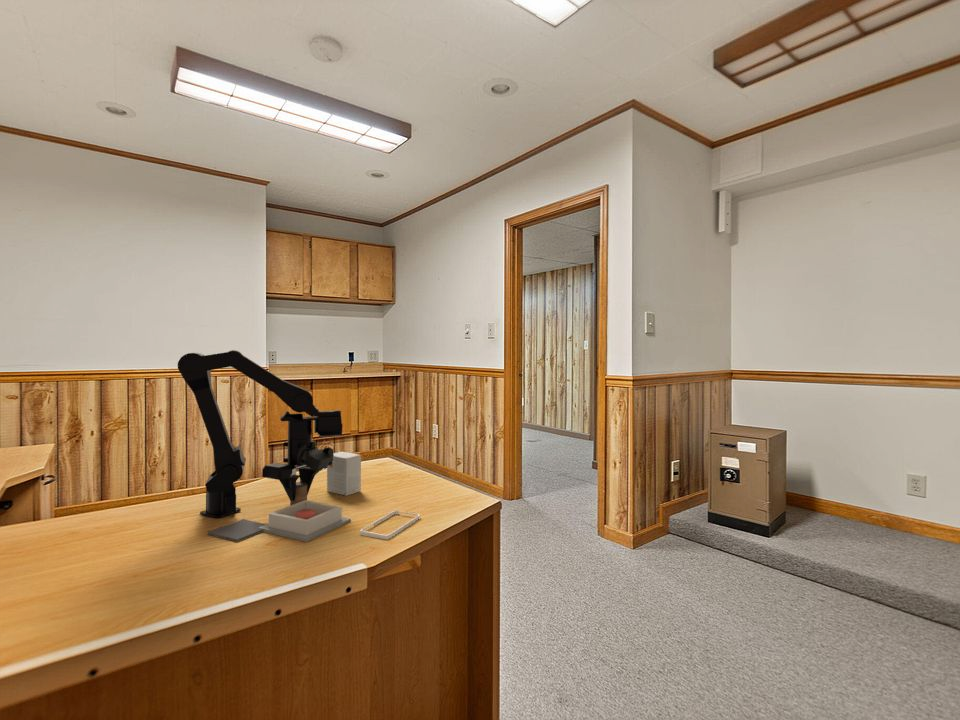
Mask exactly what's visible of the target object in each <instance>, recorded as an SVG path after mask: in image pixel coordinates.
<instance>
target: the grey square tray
mask: <svg viewBox="0 0 960 720" xmlns="http://www.w3.org/2000/svg"><path fill="white" fill-rule="evenodd" d="M305 509H312V510H316V516H314V517H312V518H309V519H307V520H306V519H302V518H297V517H296V512H297V511H300V510H305ZM350 522H351V517H345V516H342V506H338V505H332V504H328V503H322V502H316V501H313V500H308V499H307V500H304V501H302V502H299V503H296V504H293V505H291V506H290V505H288V506H286V507H283V508H280V509H278V510H274V511H273V512H270V513H268V523H265V524H266V525H264V526H261V527H258V528H260V529H263V532H262V533H268V534H271V535H276V536H281V537H285V538H289V539H293V540H298V541H302V542H306V543H308V542H310V541H312V540H314V539H316V538H318V537H320V536H322V535H325V534H327V533H329V532H331V531H333V530H335V529H337V528H339V527H341V526H343V525H345V524H348V523H350Z"/></svg>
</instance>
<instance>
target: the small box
mask: <svg viewBox="0 0 960 720" xmlns="http://www.w3.org/2000/svg"><path fill="white" fill-rule="evenodd" d="M333 454H334V456H333V461H332V465H328V467H327V468H326V491H327V492H328V493H333V494H337V495H341V496H350V495H353V494H355V493H359V492H361V491H362V455H361V454H357V453H352V452H346V451H339V452H333Z"/></svg>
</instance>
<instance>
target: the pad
mask: <svg viewBox="0 0 960 720" xmlns="http://www.w3.org/2000/svg"><path fill="white" fill-rule="evenodd" d="M266 524H267V523H262V522H257V521H254V520H249V519H245V518H243V519H239V520H236V521H233V522H231V523H229V524H226V525H223V526H220V527H216V528H215V529H212V530H209V531H207V535H209V536H213V537H215V538H220V539H225V540H229V541H232V542H236V543H238V542H240V541H244V540H246V539H248V538H250V537H253V536H255V535H258V534H260V533H264V532H263V529H260V528H258V527H261V526H264V525H266Z"/></svg>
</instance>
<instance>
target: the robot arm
mask: <svg viewBox="0 0 960 720" xmlns="http://www.w3.org/2000/svg"><path fill="white" fill-rule="evenodd" d="M229 367H230V368H233V369H234V370H236V371H238V372H240V373H241V374H242V375H244V376H246V377H248V378H249V379H250V380H253V381H254V382H256V383H258V384H259V385H261V386H262V387H264V388H266V389H267V390H268V391H271V392H272V393H274V394H275V395H276V397H278V398H279V399H280V400H281V401H282V402H284V404H286V405H287V407H289V408H290V409H291V410H292V411H294V412H296V413H291V412H289V410H286V411H285V412H284V414H283V415H282V416H280V421H281V422H287V441H283V442H284V443H283V446H284V447H287V457H284V458H283V463H280V462H272V463H269V464H266V465H264V466H263V468H262V470H261V471H262V472H261V473H262V474H261V476H262V478H266V479H270V480H278V481H279V482H280V484H281V485H282V487H283V489H284V491H285V494H286V495H287V497H288V499H289V500H290V501H294V500H295V492H296V482H297V481H298V479H299V482H306V483H307V496H308V494H309V492H310V489H311V486H312V483H313V481H314V478H315V477H316V475H318V473H319V472H321V471H323V470H327V467H328V465H332V461H333V456H334V454H333V453H334V449H333V448H332V447H330V446H328V447H324V448H323V449H322V448H320V449H319V448H317V444H316V443H317V442H316V441H314V440H312V430H313V432H314V434H317V435H318V437H319V438H321V437H341V436H342V435H343V423H342V421H343V420H342V411H341V410H340V409H334V410H320V411H319V408H318V406H315V405H314V399H313V395H312V394H311V392H310V391H309V390H308V389H306V388H303V387H301V386H299V385H297V384H294V383H291V382H289V381H286V380H284V379H282V378H280V377H278V376H277V375H275V374H274V373H272V372H271V371H269V370H268V369H265V368H264V367H262V366H261V365H260V364H258V363H256V362H255V361H253V360H251V359H250V358H248V357H247V356H245V355H244V354H243V353H242V352H241V351H240V350H235V349H234V350H233V349H232V350H229V351H226V352H220V353H219V352H218V353H213V354H207V355H205V354H203V353H201V352H189V353H185V354H184V355H182V356H180V359H179V360H178V362H177V370H178V372H179V373H180V375H181V377H182V379H183V380H184V382H185V383H186V384H187V387H189V388H190V390H191V392H192V393H193V395H194V398H195V400H196V403H197V407H198V409H199V412H200V415H201V417H202V421H203V423H204V426H205V428H206V432H207V435H208V436H209V440H210V444H211V446H212V449H213V463H214V464H213V465H214V471H213V472H212V473H211V474H209V476H208V478H207V480H206V483H205V510H202V511H199V515H203V516H205V517H210V518H211V517H212V518H214V519H218V518H222V517H227V516H228V515H232V514H235V513H237V512H240V511H242V509H241V507H237V493H236V486H235V485H234V483H235V482H237V481H239V480H240V479H241V478H242V475H243V474H244V473H243V472H244V469H245V464H246V462H247V461H246V460H247V457H245V456H244V454H243V449H242V445H241V444H240V445H237V446H235V445H234V443H233V442H232V440H231V439H230V436H229V432H228V430H227V428H226V425H225V421H224V418H223V415H222V413H221V410H220V407H219V403H218V401H217V399H216V395H215V393H214V390H213V384H212V383H213V382H212V373H211V371H213V370H218V369H224V368H229ZM303 413H305V414H306V415H309V416H304V414H303ZM313 421H314V422H313ZM313 424H314V425H313ZM312 426H313V427H312ZM286 463H287V464H286ZM297 470H298V474H297ZM290 501H289V502H290Z"/></svg>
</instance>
